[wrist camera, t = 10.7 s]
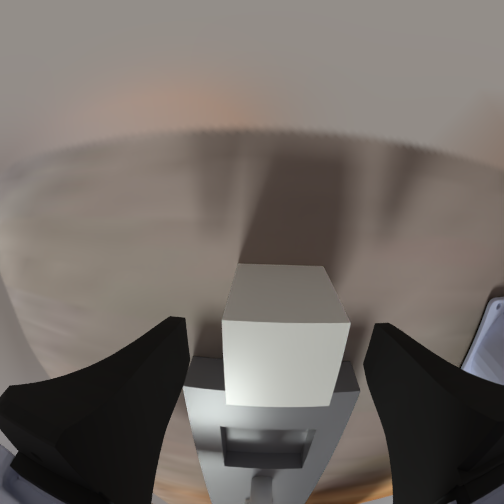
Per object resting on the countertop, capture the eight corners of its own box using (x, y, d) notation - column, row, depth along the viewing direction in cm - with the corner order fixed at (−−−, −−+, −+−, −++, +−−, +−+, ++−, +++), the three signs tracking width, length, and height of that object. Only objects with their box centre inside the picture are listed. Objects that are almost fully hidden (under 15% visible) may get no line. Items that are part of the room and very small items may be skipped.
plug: (323, 265, 13) (350, 322, 8) (313, 336, 14) (328, 405, 9) (237, 262, 13) (221, 320, 8) (238, 333, 14) (225, 404, 10)
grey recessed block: (350, 361, 15) (376, 443, 9) (297, 496, 21) (299, 538, 16) (193, 356, 15) (163, 439, 9) (216, 493, 22) (210, 535, 16)
